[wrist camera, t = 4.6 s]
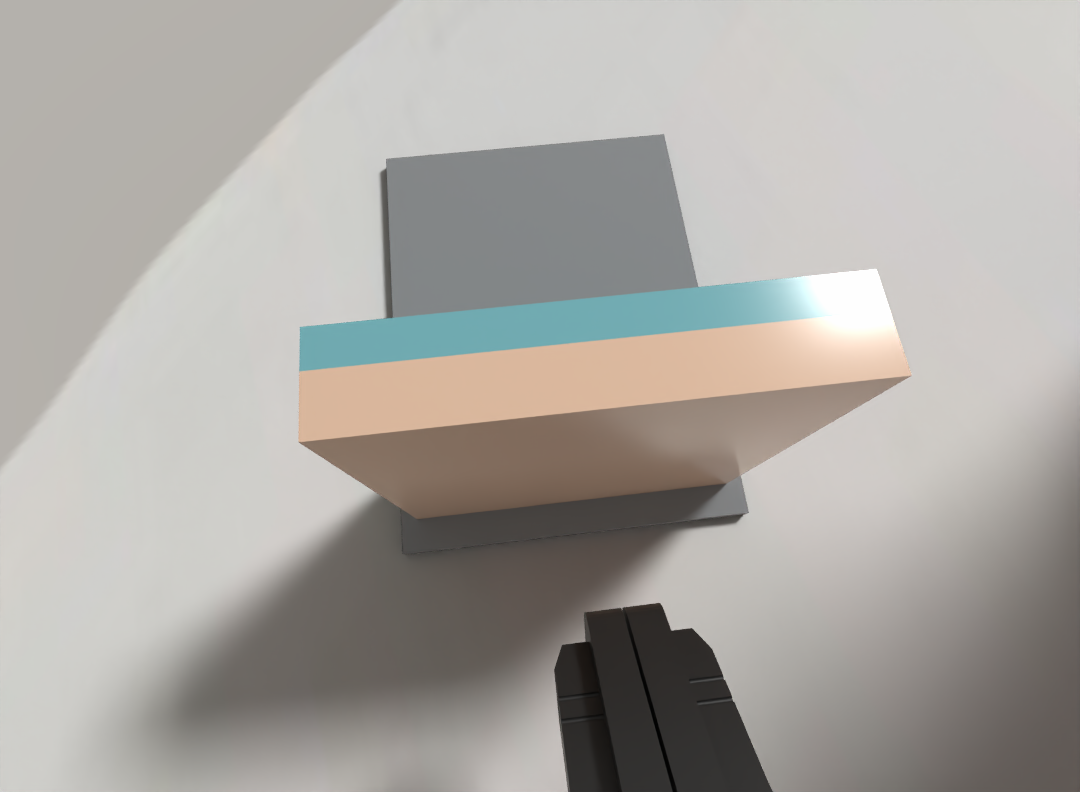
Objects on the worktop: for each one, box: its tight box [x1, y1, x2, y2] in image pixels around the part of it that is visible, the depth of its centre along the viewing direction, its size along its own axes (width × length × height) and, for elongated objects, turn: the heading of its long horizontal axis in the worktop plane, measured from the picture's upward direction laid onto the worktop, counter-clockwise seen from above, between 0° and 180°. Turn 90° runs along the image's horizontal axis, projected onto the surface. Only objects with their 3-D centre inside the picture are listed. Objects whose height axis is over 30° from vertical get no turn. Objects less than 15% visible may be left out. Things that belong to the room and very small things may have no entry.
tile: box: [299, 269, 912, 519], centre depth 15 cm, size 10×2×10 cm, turn 97°
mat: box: [386, 134, 749, 554], centre depth 21 cm, size 11×15×1 cm
